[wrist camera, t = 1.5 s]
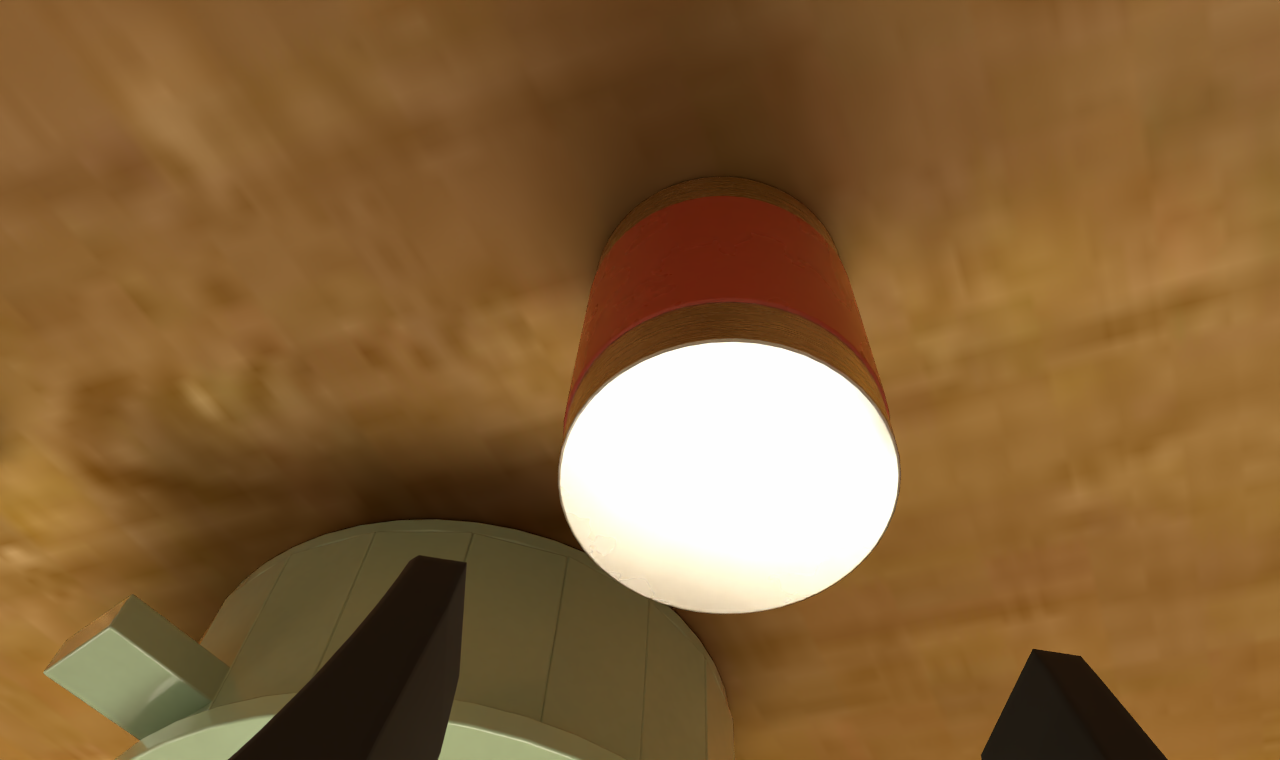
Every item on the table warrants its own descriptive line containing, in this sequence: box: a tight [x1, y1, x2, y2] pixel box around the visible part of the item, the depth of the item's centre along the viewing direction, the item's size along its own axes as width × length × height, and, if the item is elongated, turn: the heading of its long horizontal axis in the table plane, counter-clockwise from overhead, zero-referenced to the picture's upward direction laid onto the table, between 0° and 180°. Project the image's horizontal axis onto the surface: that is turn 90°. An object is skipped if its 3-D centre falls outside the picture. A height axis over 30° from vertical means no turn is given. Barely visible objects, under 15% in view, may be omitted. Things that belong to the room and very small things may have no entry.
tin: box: [558, 177, 901, 614], centre depth 19 cm, size 6×6×7 cm
